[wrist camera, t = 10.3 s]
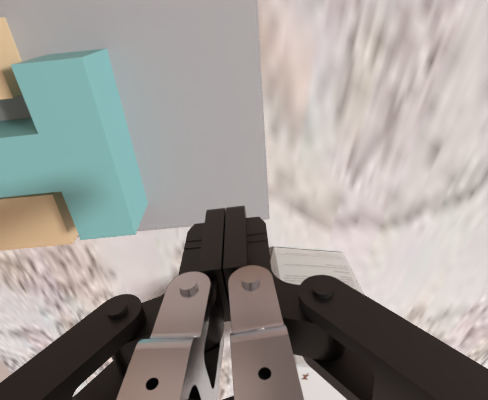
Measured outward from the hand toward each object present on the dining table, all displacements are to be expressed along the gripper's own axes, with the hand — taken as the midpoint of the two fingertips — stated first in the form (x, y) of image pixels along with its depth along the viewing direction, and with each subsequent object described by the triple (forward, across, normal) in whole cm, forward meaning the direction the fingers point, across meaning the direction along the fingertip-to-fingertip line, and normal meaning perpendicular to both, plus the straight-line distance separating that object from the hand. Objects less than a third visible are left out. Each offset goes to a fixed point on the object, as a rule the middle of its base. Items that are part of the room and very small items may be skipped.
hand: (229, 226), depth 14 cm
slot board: (+15, +11, 0) cm, 18 cm away
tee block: (+14, +14, 0) cm, 19 cm away
